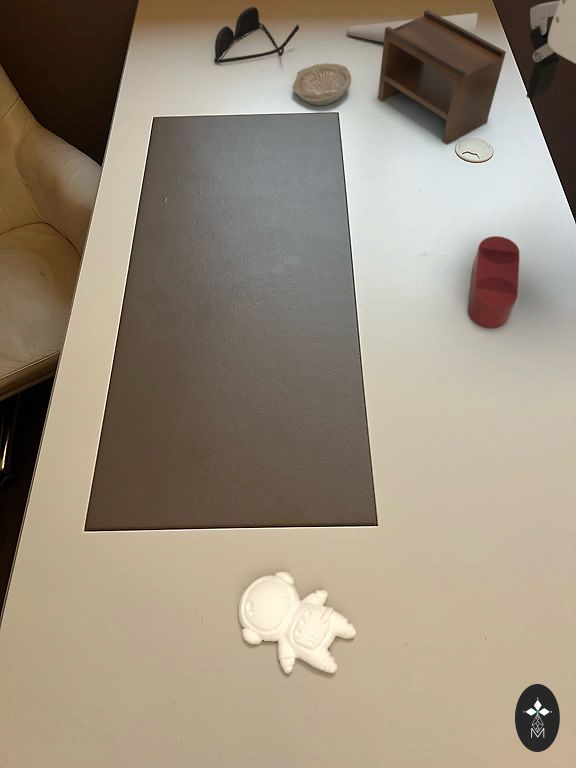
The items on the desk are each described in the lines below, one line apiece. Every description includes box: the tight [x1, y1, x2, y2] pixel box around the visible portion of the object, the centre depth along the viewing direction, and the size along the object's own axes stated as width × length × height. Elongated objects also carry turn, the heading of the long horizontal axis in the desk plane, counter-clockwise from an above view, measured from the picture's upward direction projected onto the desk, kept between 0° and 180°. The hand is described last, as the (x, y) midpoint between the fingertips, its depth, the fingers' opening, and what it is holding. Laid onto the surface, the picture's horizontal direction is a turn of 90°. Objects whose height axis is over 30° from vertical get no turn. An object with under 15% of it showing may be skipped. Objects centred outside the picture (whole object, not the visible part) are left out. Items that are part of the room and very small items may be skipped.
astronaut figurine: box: [238, 571, 357, 674], centre depth 63 cm, size 9×12×3 cm
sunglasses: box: [213, 6, 300, 64], centre depth 124 cm, size 17×14×5 cm
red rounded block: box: [467, 235, 520, 329], centre depth 87 cm, size 14×6×4 cm, turn 166°
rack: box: [377, 9, 507, 145], centre depth 109 cm, size 10×18×13 cm, turn 37°
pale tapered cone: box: [346, 12, 479, 44], centre depth 124 cm, size 8×9×26 cm
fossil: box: [292, 63, 352, 106], centre depth 117 cm, size 10×12×3 cm
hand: (570, 113), depth 70 cm, fingers open, 9 cm apart
